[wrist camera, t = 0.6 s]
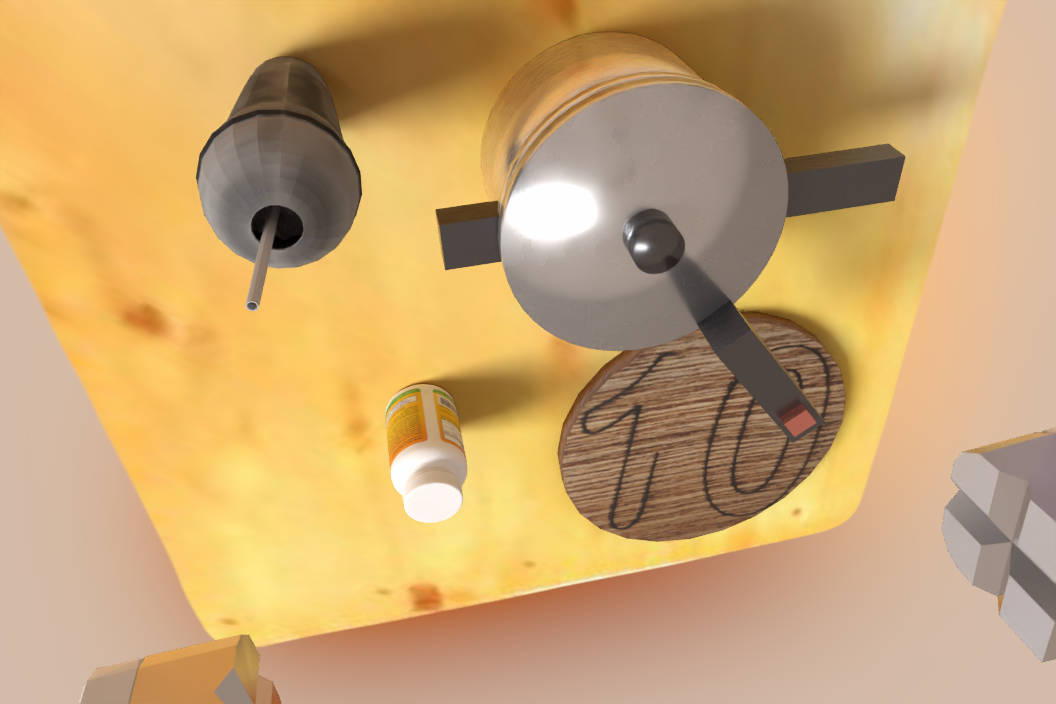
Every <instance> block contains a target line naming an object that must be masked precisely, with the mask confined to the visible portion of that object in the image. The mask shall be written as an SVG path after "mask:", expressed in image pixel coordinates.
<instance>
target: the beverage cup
mask: <svg viewBox="0 0 1056 704" xmlns="http://www.w3.org/2000/svg"><path fill="white" fill-rule="evenodd" d="M196 179H197V184H198V189H199V194H200V199H201V203H202V208H203V212H204V216H205V217H206V219H207V221H208V222H209V224H210V226H211V227H212V229H213V231H214V232H215V234H216V236H217V237H218V238H219V239H220V240H221V241H222V242H223V243H224V244H225V245H226V246H227V247H228V248H230V249H231V250H232V251H233V252H234V253H235V254H237V255H239V256H241V257H243V258H245V259H247V260H249V261H251V262H253V263H255V267H254V271H253V275H252V280H251V284H250V288H249V293H248V297H247V301H246V305H245V307H246V308H247V309H248V310H250V311H256V310H258V308H259V304H260V299H261V295H262V290H263V286H264V281H265V277H266V272H267V267H272V268H293V267H300V266H303V265H306V264H309V263H312V262H315V261H318V260H320V259H321V258H322V257H324V256H325V255H327V254H328V253H329V252H331V251H332V250H334V249H335V248H336V247H337V246H338V245H339V244H340V242H341V241H342V239H343V238H344V237H345V235H346V234H347V233H348V231H349V230H350V228H351V226H352V224H353V220H354V218H355V216H356V214H357V210H358V207H359V203H360V200H361V196H362V188H361V175H360V170H359V168H358V166H357V163H356V161H355V159H354V156H353V154H352V152H351V150H350V149H349V147H348V146H347V145H346V143H345V142H344V140H343V137H342V133H341V129H340V125H339V122H338V118H337V114H336V110H335V106H334V103H333V99H332V97H331V95H330V92H329V89H328V87H327V85H326V82H325V80H324V78H323V77H322V76H321V75H320V73H319V72H318V71H317V70H316V69H315V68H314V67H312V66H311V65H309V64H308V63H306V62H305V61H302V60H299V59H296V58H292V57H277V58H274V59H271V60H268V61H265V62H264V63H263V64H261V65H260V66H259V67H258V68H256V69H255V71H254V73H253V74H252V75H251V76H250V78H249V80H248V81H247V83H246V85H245V86H244V88H243V90H242V92H241V94H240V96H239V98H238V100H237V102H236V104H235V106H234V108H233V110H232V112H231V114H230V116H229V118H228V120H227V121H226V122H225V123H224V124H223V125H222V126H221V127H220V128H219V129H217V130H216V131H215V132H213V133H212V135H211V136H210V138H209V140H208V141H207V143H206V145H205V146H204V148H203V150H202V151H201V153H200V156H199V162H198V168H197V174H196Z"/></svg>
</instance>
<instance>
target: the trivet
mask: <svg viewBox="0 0 1056 704" xmlns="http://www.w3.org/2000/svg"><path fill="white" fill-rule="evenodd" d="M740 313H741V314H742V315H743V317H744V318H745V319H746V320H747V322H748V323H749V324H750V325H751V327H752V328H753V329H754V330H755V332H756V333H757V334H758V335H759V337H760V338H761V339H762V340H763V342H764V343H765V344H766V345H767V347H768V348H769V349H770V350H771V352H772V353H773V354H774V356H775V357H776V358H777V359H778V361H779V362H780V363H781V364H782V366H783V367H784V368H785V369H786V371H787V372H788V373H789V374H790V376H791V377H792V378H793V379H794V381H795V382H796V383H797V384H798V386H799V387H800V388H801V389H802V391H803V392H804V393H805V395H806V396H807V398H808V399H809V400H810V402H811V403H812V404H813V406H814V407H815V409H816V410H817V411H818V413H819V414H820V416H821V417H822V418H823V420H824V421H825V423H823V424H822V425H820V426H819V427H817V428H816V429H814V430H813V431H811V432H810V433H808V434H806V435H805V436H803V437H802V438H800V439H799V440H797V441H796V442H794V443H792V441H791V440H790V439H789V438H788V437H787V436H786V435H785V433H784V432H783V431H782V430H781V429H780V428H779V427H778V425H777V424H776V423H775V422H774V421H773V420H772V418H771V417H770V416H769V415H768V414H767V413H766V412H765V410H764V409H763V408H762V407H761V406H760V405H759V404H758V402H757V401H756V400H755V399H754V398H753V397H752V396H751V394H750V393H749V392H748V391H747V390H746V389H745V388H744V386H743V385H742V384H741V383H740V382H739V381H738V379H737V378H736V377H735V376H734V375H733V374H732V373H731V371H730V370H729V369H728V368H727V367H726V366H725V365H724V363H723V362H722V361H721V360H720V359H719V358H718V357H717V355H716V354H715V353H714V351H713V349H712V348H711V346H710V344H709V343H708V341H707V340H706V338H705V336H704V335H703V333H702V332H701V330H700V328H699V329H697V330H695V331H693V332H691V333H689V334H688V335H685V336H683V337H680V338H678V339H675V340H673V341H670V342H667V343H664V344H660V345H657V346H653V347H648V348H643V349H637V350H625V351H623V352H621V353H620V354H619V355H617V356H616V357H615V358H613V359H612V360H611V361H609V362H608V363H606V364H605V365H604V366H603V367H602V368H601V369H600V370H599V372H598V373H597V374H596V375H595V376H594V377H593V378H592V379H591V381H590V382H589V383H588V384H587V385H586V386H585V387H584V388H583V390H582V391H581V392H580V393H579V394H578V396H577V398H576V400H575V402H574V404H573V406H572V407H571V409H570V411H569V413H568V415H567V417H566V419H565V421H564V423H563V426H562V431H561V437H560V442H559V448H558V459H559V464H560V470H561V476H562V480H563V483H564V487H565V490H566V493H567V494H568V496H569V497H570V499H571V500H572V502H573V504H574V505H575V507H576V508H577V510H578V511H579V513H580V514H581V515H583V516H584V517H585V518H587V519H588V520H589V521H591V522H592V523H593V524H595V525H596V526H597V527H599V528H600V529H602V530H605V531H608V532H611V533H613V534H616V535H619V536H622V537H625V538H628V539H638V540H647V541H656V542H659V541H670V540H681V539H691V538H695V537H699V536H702V535H706V534H710V533H714V532H718V531H721V530H724V529H727V528H729V527H731V526H734V525H736V524H738V523H740V522H743V521H745V520H747V519H750V518H752V517H754V516H756V515H758V514H759V513H761V512H762V511H764V510H765V509H767V508H769V507H770V506H772V505H773V504H775V503H777V502H778V501H780V500H781V499H783V498H784V497H786V496H787V495H788V494H789V493H790V492H791V491H792V490H793V489H795V488H796V487H797V486H798V485H799V484H800V483H801V482H802V481H803V480H805V479H806V478H807V477H808V476H809V475H810V474H811V473H812V471H813V470H814V469H815V467H816V466H817V465H818V464H819V462H820V461H821V460H822V458H823V457H824V456H825V454H826V453H827V452H828V451H829V449H830V447H831V445H832V443H833V440H834V438H835V436H836V434H837V432H838V430H839V427H840V425H841V423H842V418H843V411H844V404H845V397H846V393H845V389H844V384H843V380H842V375H841V371H840V368H839V367H838V365H837V364H836V363H835V361H834V360H833V358H832V357H831V356H830V354H829V353H828V352H827V350H826V349H825V348H824V346H823V345H822V344H821V343H820V341H819V340H818V339H817V338H816V336H815V335H813V334H812V333H810V332H808V331H807V330H805V329H804V328H802V327H800V326H799V325H797V324H795V323H794V322H792V321H791V320H788V319H784V318H780V317H776V316H772V315H768V314H764V313H759V312H740Z"/></svg>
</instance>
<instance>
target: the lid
mask: <svg viewBox="0 0 1056 704" xmlns="http://www.w3.org/2000/svg"><path fill="white" fill-rule="evenodd" d="M787 205H788V179H787V172H786V166H785V163H784V160H783V156H782V153H781V150H780V148H779V146H778V144H777V142H776V141H775V139H774V137H773V135H772V134H771V132H770V131H769V130H768V128H767V127H766V126H765V124H764V123H763V122H762V121H761V120H760V119H759V118H758V117H757V116H756V115H755V114H754V113H753V112H752V111H751V110H750V109H748V108H747V107H746V106H745V105H744V104H743V103H742V102H741V101H739V100H738V99H736V98H735V97H733V96H732V95H730V94H729V93H727V92H725V91H723V90H721V89H719V88H717V87H714V86H712V85H710V84H707V83H703V82H699V81H696V80H692V79H685V78H677V77H652V78H645V79H639V80H632V81H629V82H625V83H622V84H618V85H615V86H611V87H609V88H607V89H604V90H602V91H600V92H597V93H595V94H592V95H591V96H589V97H587V98H585V99H584V100H582V101H580V102H578V103H577V104H575V105H573V106H572V107H570V108H569V109H568V110H566V111H565V112H564V113H562V114H561V115H560V116H558V117H557V118H556V119H555V120H554V121H553V122H552V123H550V124H549V125H548V126H547V127H546V128H545V129H544V130H543V131H542V132H541V133H540V134H539V135H538V137H537V138H536V139H535V140H534V141H533V143H532V144H531V145H530V146H529V147H528V149H527V150H526V151H525V153H524V155H523V156H522V158H521V159H520V161H519V162H518V164H517V166H516V167H515V169H514V172H513V174H512V176H511V178H510V180H509V182H508V184H507V187H506V190H505V193H504V196H503V200H502V203H501V208H500V214H499V220H498V244H499V252H500V257H501V261H502V265H503V268H504V272H505V275H506V278H507V281H508V283H509V285H510V288H511V290H512V292H513V294H514V296H515V298H516V299H517V301H518V302H519V304H520V305H521V307H522V308H523V310H524V311H525V312H526V313H527V314H528V315H529V316H530V317H531V318H532V320H533V321H535V322H536V323H537V324H538V325H540V326H541V327H542V328H543V329H544V330H546V331H548V332H549V333H551V334H553V335H554V336H556V337H558V338H560V339H562V340H565V341H567V342H569V343H572V344H575V345H579V346H582V347H586V348H591V349H598V350H606V351H625V350H637V349H643V348H648V347H653V346H657V345H660V344H664V343H667V342H670V341H673V340H675V339H678V338H680V337H683V336H685V335H688V334H689V333H691V332H693V331H695V330H697V329H699V328H700V330H701V332H702V333H703V335H704V336H705V338H706V340H707V341H708V343H709V344H710V346H711V348H712V349H713V351H714V353H715V354H716V355H717V357H718V358H719V359H720V360H721V361H722V362H723V363H724V365H725V366H726V367H727V368H728V369H729V370H730V371H731V373H732V374H733V375H734V376H735V377H736V378H737V379H738V381H739V382H740V383H741V384H742V385H743V386H744V388H745V389H746V390H747V391H748V392H749V393H750V394H751V396H752V397H753V398H754V399H755V400H756V401H757V402H758V404H759V405H760V406H761V407H762V408H763V409H764V410H765V412H766V413H767V414H768V415H769V416H770V417H771V418H772V420H773V421H774V422H775V423H776V424H777V425H778V427H779V428H780V429H781V430H782V431H783V432H784V433H785V435H786V436H787V437H788V438H789V439H790V440H791V441H792V443H794V442H796V441H797V440H799V439H800V438H802V437H803V436H805V435H806V434H808V433H810V432H811V431H813V430H814V429H816V428H817V427H819V426H820V425H822V424H823V423H825V421H824V420H823V418H822V417H821V416H820V414H819V413H818V411H817V410H816V409H815V407H814V406H813V404H812V403H811V402H810V400H809V399H808V398H807V396H806V395H805V393H804V392H803V391H802V389H801V388H800V387H799V386H798V384H797V383H796V382H795V381H794V379H793V378H792V377H791V376H790V374H789V373H788V372H787V371H786V369H785V368H784V367H783V366H782V364H781V363H780V362H779V361H778V359H777V358H776V357H775V356H774V354H773V353H772V352H771V350H770V349H769V348H768V347H767V345H766V344H765V343H764V342H763V340H762V339H761V338H760V337H759V335H758V334H757V333H756V332H755V330H754V329H753V328H752V327H751V325H750V324H749V323H748V322H747V320H746V319H745V318H744V317H743V315H742V314H741V313H740V312H739V310H738V309H737V308H736V306H735V305H734V303H735V302H736V301H737V300H738V299H739V298H740V297H741V296H742V295H743V294H744V293H745V292H746V291H747V290H748V289H749V288H750V286H751V285H752V284H753V283H754V282H755V281H756V279H757V278H758V276H759V275H760V274H761V272H762V271H763V269H764V268H765V266H766V265H767V263H768V261H769V259H770V257H771V256H772V254H773V252H774V250H775V248H776V245H777V243H778V240H779V238H780V235H781V233H782V229H783V225H784V222H785V218H786V212H787Z"/></svg>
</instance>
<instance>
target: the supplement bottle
mask: <svg viewBox="0 0 1056 704" xmlns="http://www.w3.org/2000/svg"><path fill="white" fill-rule="evenodd" d="M385 417H386V429H387V440H388V451H389V461H390V473H391V479H392V482H393V484H394V486H395V488H396V490H397V491H398V492H399V493H400V494H401V495H403V501H404V508H405V511H406V512H407V514H408V515H409V516H410V517H411V518H413V519H415V520H417V521H420V522H427V523H431V522H439V521H442V520H445V519H447V518H450V517H451V516H453V515H454V514H455V513H456V512H457V511H458V510H459V509H460V507H461V505H462V502H463V495H462V487H461V486H462V485H463V483H464V481H465V479H466V476H467V461H466V456H465V451H464V446H463V441H462V435H461V430H460V425H459V420H458V415H457V410H456V406H455V403H454V400H453V398H452V397H451V396H450V394H449V393H448V392H446V391H445V390H444V389H442V388H440V387H438V386H435V385H429V384H419V385H413V386H410V387H407V388H404V389H402V390H401V391H399V392H398V393H396V394H395V395H394V396H393V397H392V398H391V400H390V401H389V403H388V405H387V408H386V414H385Z"/></svg>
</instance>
